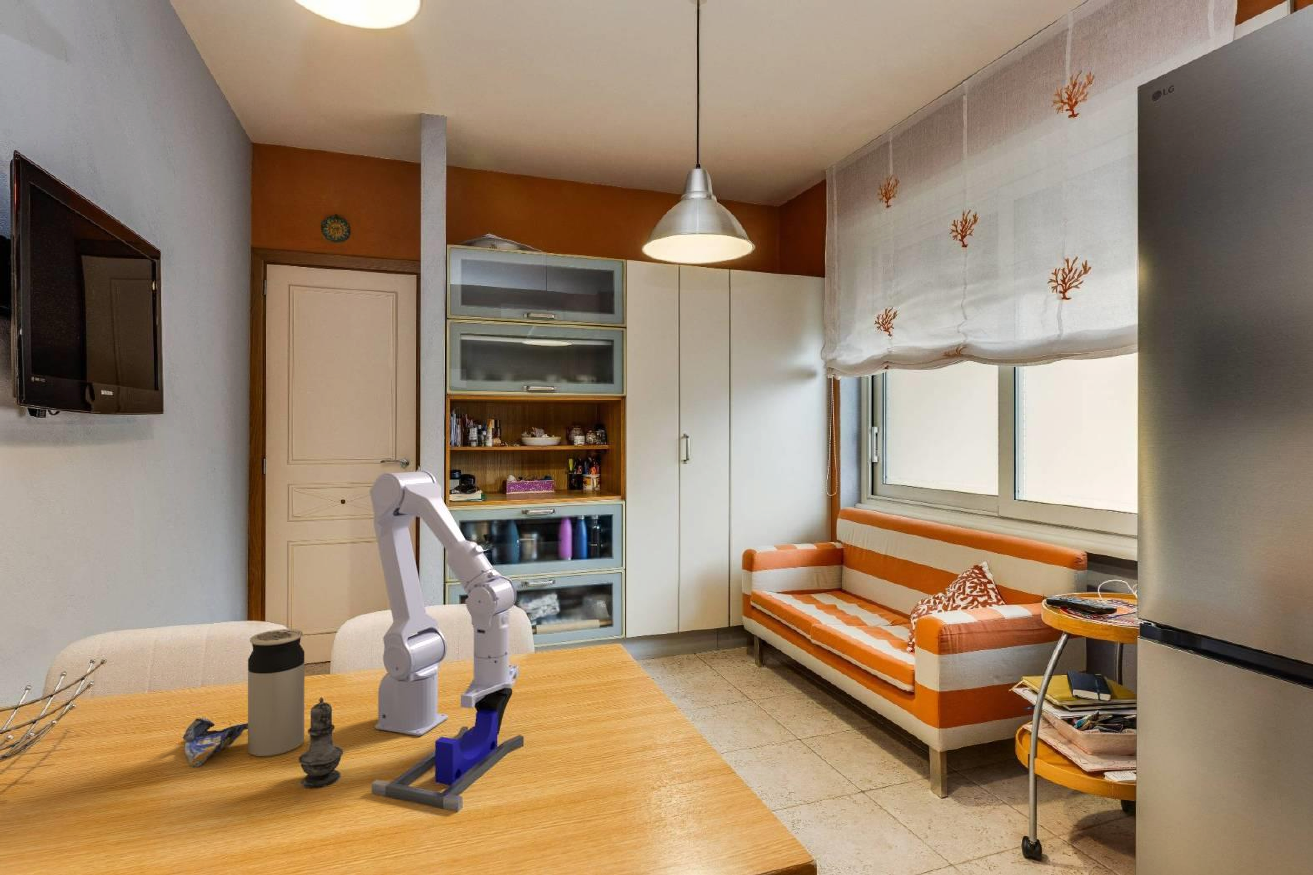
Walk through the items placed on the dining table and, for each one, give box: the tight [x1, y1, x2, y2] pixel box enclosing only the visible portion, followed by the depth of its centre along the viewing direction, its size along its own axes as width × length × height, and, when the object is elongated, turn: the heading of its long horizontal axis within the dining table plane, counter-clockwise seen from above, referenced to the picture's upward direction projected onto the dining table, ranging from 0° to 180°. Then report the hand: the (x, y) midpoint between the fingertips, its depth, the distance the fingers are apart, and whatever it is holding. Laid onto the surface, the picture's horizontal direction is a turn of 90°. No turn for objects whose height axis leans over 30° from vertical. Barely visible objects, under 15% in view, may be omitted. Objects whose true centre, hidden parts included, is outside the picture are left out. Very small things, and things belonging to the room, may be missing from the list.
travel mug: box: [247, 628, 305, 757], centre depth 109 cm, size 8×8×18 cm
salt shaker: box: [298, 697, 344, 790], centre depth 99 cm, size 6×6×12 cm
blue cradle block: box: [434, 709, 498, 786], centre depth 103 cm, size 12×4×6 cm, turn 162°
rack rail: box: [371, 726, 525, 812], centre depth 102 cm, size 14×20×2 cm
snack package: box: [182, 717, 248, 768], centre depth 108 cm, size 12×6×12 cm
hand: (491, 735), depth 111 cm, fingers closed
